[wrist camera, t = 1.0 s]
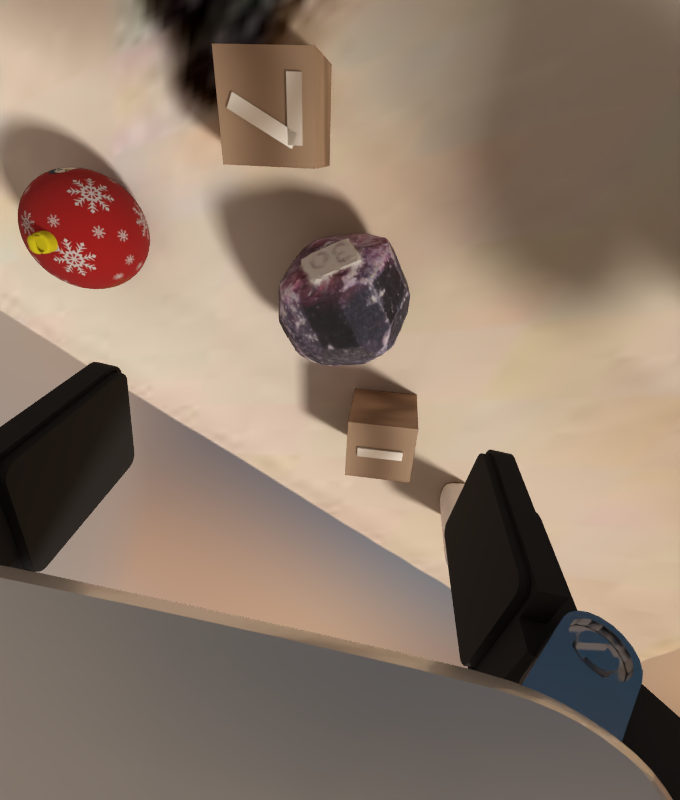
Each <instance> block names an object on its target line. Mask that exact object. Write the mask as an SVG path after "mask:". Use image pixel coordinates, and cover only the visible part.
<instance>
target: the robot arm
mask: <svg viewBox="0 0 680 800" xmlns="http://www.w3.org/2000/svg"><path fill="white" fill-rule="evenodd" d="M133 458H134V446H133V435H132V426H131V415H130V406H129V395H128V385H127V378H126V376H125V375H124V374H122V373H121V370H120V369H119V368H118V367H116V366H112V365H107V364H103V363H98V362H93V363H91V364H89V365H88V366H86V367H85V368H83V369H82V370H81V371H79V372H78V373H76V374H75V375H73V376H72V377H71V378H69V379H68V380H66V381H65V382H63V383H62V384H61V385H59V386H58V387H56V388H55V389H54V390H53V391H51V392H49V393H48V394H46V395H45V396H44V397H42V398H41V399H39V400H38V401H37V402H35V403H34V404H32V405H31V406H30V407H28V408H27V409H25V410H24V411H22V412H21V413H20V414H18V415H17V416H15V417H14V418H12V419H11V420H10V421H8V422H7V423H5V424H4V425H2V426H1V427H0V800H680V717H678V716H677V715H676V714H675V713H674V712H673V711H672V710H671V709H669V708H668V707H667V706H666V705H665V704H664V703H663V702H662V701H660V700H659V699H658V698H657V697H656V696H655V695H654V694H653V693H651V692H650V691H649V690H648V689H647V688H646V687H644V685H642V677H643V670H642V666H641V663H640V659H639V658H638V656H637V654H636V652H635V650H634V648H633V647H632V645H631V644H630V643H629V642H628V641H627V639H626V638H625V637H624V636H623V635H622V634H621V633H620V632H619V631H618V630H617V629H616V628H615V627H614V626H613V625H611V624H610V623H608V622H607V621H605V620H604V619H602V618H601V617H599V616H596V615H594V614H591V613H589V612H584V611H577V608H576V606H575V603H574V601H573V598H572V596H571V593H570V591H569V588H568V586H567V583H566V581H565V578H564V576H563V573H562V571H561V568H560V566H559V563H558V561H557V558H556V556H555V553H554V551H553V548H552V546H551V543H550V541H549V538H548V535H547V533H546V530H545V528H544V525H543V523H542V520H541V518H540V516H539V515H538V513H536V512H535V509H534V507H533V504H532V502H531V499H530V496H529V494H528V491H527V489H526V486H525V484H524V481H523V479H522V476H521V473H520V471H519V468H518V466H517V463H516V461H515V458H514V456H513V455H511V454H508V453H503V452H499V451H494V450H488V451H487V452H486V454H482V453H481V454H479V456H478V457H477V459H476V461H475V463H474V466H473V468H472V470H471V472H470V474H469V476H468V478H467V480H466V482H465V484H464V487H463V489H462V491H461V493H460V495H459V497H458V499H457V501H456V503H455V505H454V507H453V510H452V512H451V514H450V516H449V518H448V520H447V522H446V525H445V530H444V538H445V545H446V553H447V561H448V569H449V576H450V584H451V592H452V599H453V607H454V615H455V622H456V630H457V637H458V646H459V653H460V659H461V662H462V664H463V665H464V666H468V669H467V668H462V667H458V666H454V665H450V664H446V663H442V662H438V661H434V660H430V659H426V658H422V657H417V656H413V655H409V654H405V653H401V652H397V651H392V650H388V649H383V648H379V647H374V646H370V645H365V644H361V643H357V642H352V641H347V640H343V639H339V638H334V637H330V636H326V635H321V634H317V633H312V632H308V631H304V630H299V629H295V628H290V627H285V626H281V625H276V624H272V623H267V622H263V621H259V620H254V619H250V618H245V617H240V616H236V615H231V614H227V613H222V612H217V611H213V610H208V609H204V608H199V607H195V606H190V605H186V604H181V603H177V602H172V601H168V600H163V599H158V598H153V597H149V596H145V595H139V594H135V593H130V592H126V591H121V590H117V589H112V588H107V587H103V586H98V585H93V584H89V583H84V582H79V581H75V580H70V579H65V578H61V577H56V576H51V575H46V574H42V573H37V572H36V571H38V572H39V571H42V570H43V569H45V568H46V567H47V566H48V564H49V563H50V562H51V561H52V560H53V558H54V557H55V556H56V555H57V553H58V552H59V551H60V550H61V549H62V548H63V546H64V545H65V544H66V543H67V541H68V540H69V539H70V538H71V537H72V535H73V534H74V533H75V532H76V531H77V530H78V528H79V527H80V526H81V525H82V523H83V522H84V521H85V520H86V519H87V518H88V516H89V515H90V514H91V513H92V512H93V510H94V509H95V508H96V507H97V506H98V504H99V503H100V502H101V501H102V499H103V498H104V497H105V496H106V495H107V494H108V492H109V491H110V490H111V489H112V487H113V486H114V485H115V484H116V483H117V482H118V480H119V479H120V478H121V477H122V475H123V474H124V473H125V472H126V471H127V470H128V468H129V467H130V466H131V464H132V462H133Z"/></svg>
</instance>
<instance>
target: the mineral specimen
mask: <svg viewBox="0 0 680 800" xmlns="http://www.w3.org/2000/svg"><path fill="white" fill-rule="evenodd" d="M409 300H410V293H409V288H408V284H407V281H406V278H405V276H404V274H403V272H402V270H401V267H400V264H399V262H398V259H397V256H396V254H395V252H394V249H393V248H392V246H391V244H390V243H389V241H388V240H387V239H386V238H383V237H378V236H374V235H370V234H350V235H340V236H330V237H325V238H322V239H318V240H316V241H314V242H312V243H311V244H309V245H308V246H307V247H305V248H304V249H303V250H302V251H301V252H300V253H299V255H298V256H297V257H296V259H295V260H294V261H293V263H292V264H291V266H290V268H289V269H288V270H287V272H286V274H285V276H284V277H283V279H282V280H281V282H280V286H279V322H280V324H281V326H282V328H283V330H284V332H285V333H286V335H287V337H288V338H289V340H290V342H291V343H292V345H293V346H294V348H295V350H296V351H297V352H298V353H299V354H300V355H301V356H303V357H304V358H306V359H309V360H311V361H313V362H315V363H319V364H320V365H328V366H331V365H332V366H338V365H357V364H365V363H367V362H369V361H371V360H373V359H375V358H377V357H379V356H381V355H382V354H384V353H385V352H386V351H388V350H389V349H390V348H392V346H393V345H394V343H395V341H396V338H397V336H398V334H399V332H400V330H401V328H402V325H403V322H404V320H405V317H406V315H407V313H408V307H409Z"/></svg>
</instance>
